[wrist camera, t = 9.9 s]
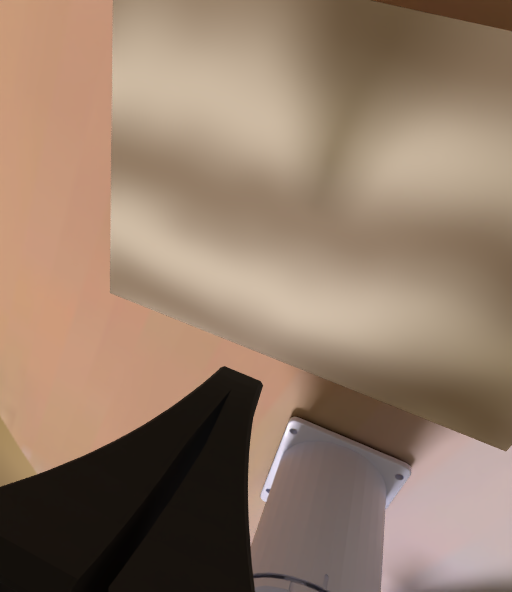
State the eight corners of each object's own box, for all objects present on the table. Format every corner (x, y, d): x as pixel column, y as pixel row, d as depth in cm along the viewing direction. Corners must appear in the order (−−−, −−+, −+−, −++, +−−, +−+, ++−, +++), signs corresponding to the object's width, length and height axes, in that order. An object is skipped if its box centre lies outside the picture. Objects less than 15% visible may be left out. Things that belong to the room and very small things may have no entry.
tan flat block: (490, 390, 20) (505, 451, 17) (151, 263, 24) (110, 292, 20) (714, 94, 13) (822, 99, 9) (173, -28, 16) (113, -56, 13)
